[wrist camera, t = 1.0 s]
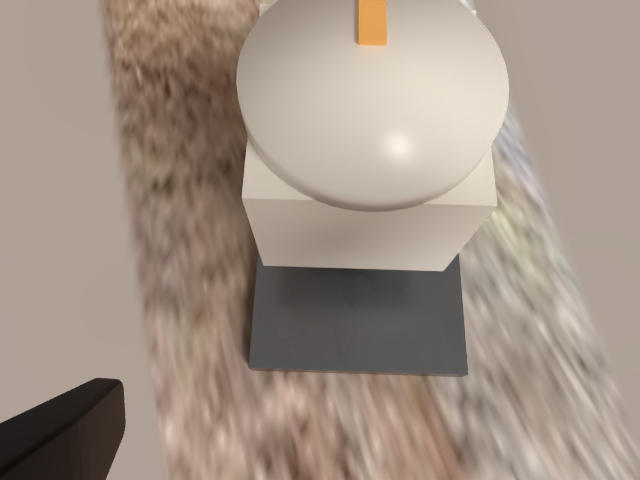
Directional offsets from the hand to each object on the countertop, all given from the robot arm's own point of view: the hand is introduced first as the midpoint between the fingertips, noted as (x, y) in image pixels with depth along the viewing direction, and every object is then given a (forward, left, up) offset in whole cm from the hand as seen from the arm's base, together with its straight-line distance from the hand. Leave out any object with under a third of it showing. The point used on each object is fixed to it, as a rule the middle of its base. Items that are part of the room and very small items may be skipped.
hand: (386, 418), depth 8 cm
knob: (+9, 0, -9) cm, 13 cm away
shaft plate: (+8, -1, -14) cm, 16 cm away
